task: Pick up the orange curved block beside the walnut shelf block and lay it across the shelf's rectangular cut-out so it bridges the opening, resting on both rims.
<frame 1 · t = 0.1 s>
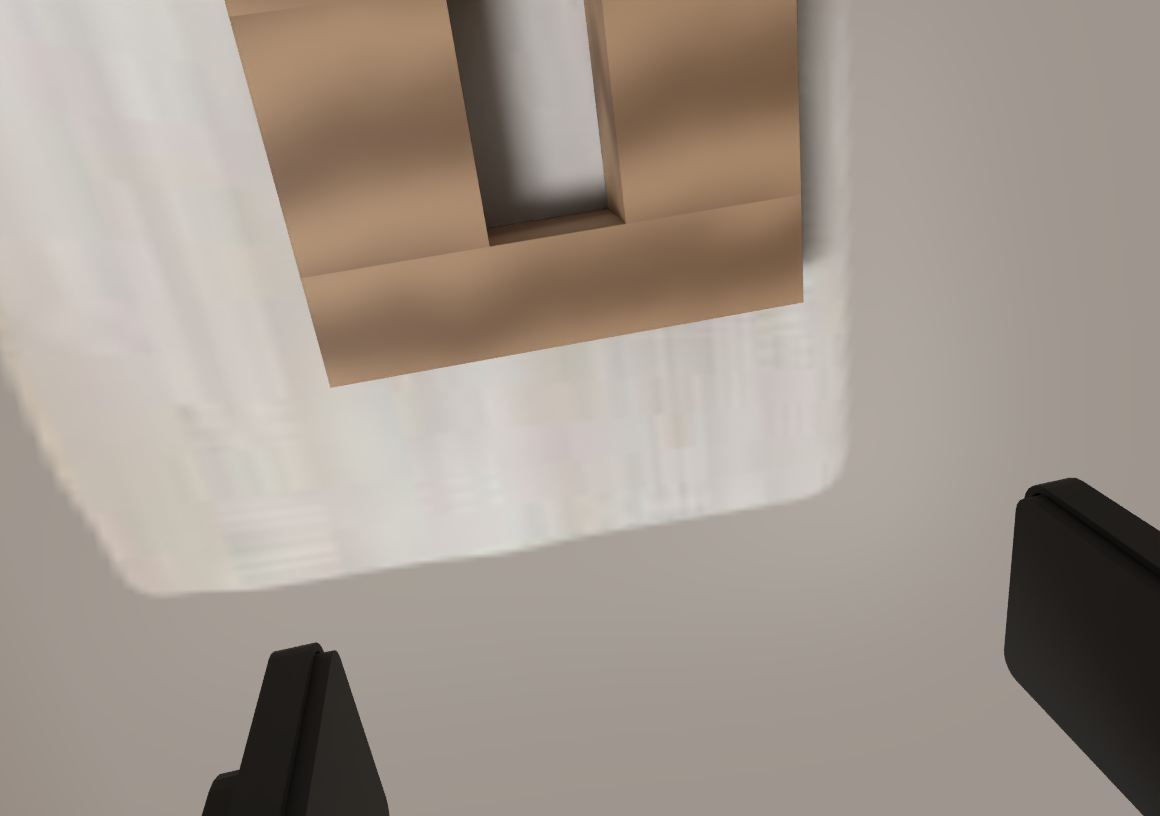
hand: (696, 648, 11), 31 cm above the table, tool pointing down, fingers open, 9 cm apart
cutout shelf: (530, 108, 38), on the table
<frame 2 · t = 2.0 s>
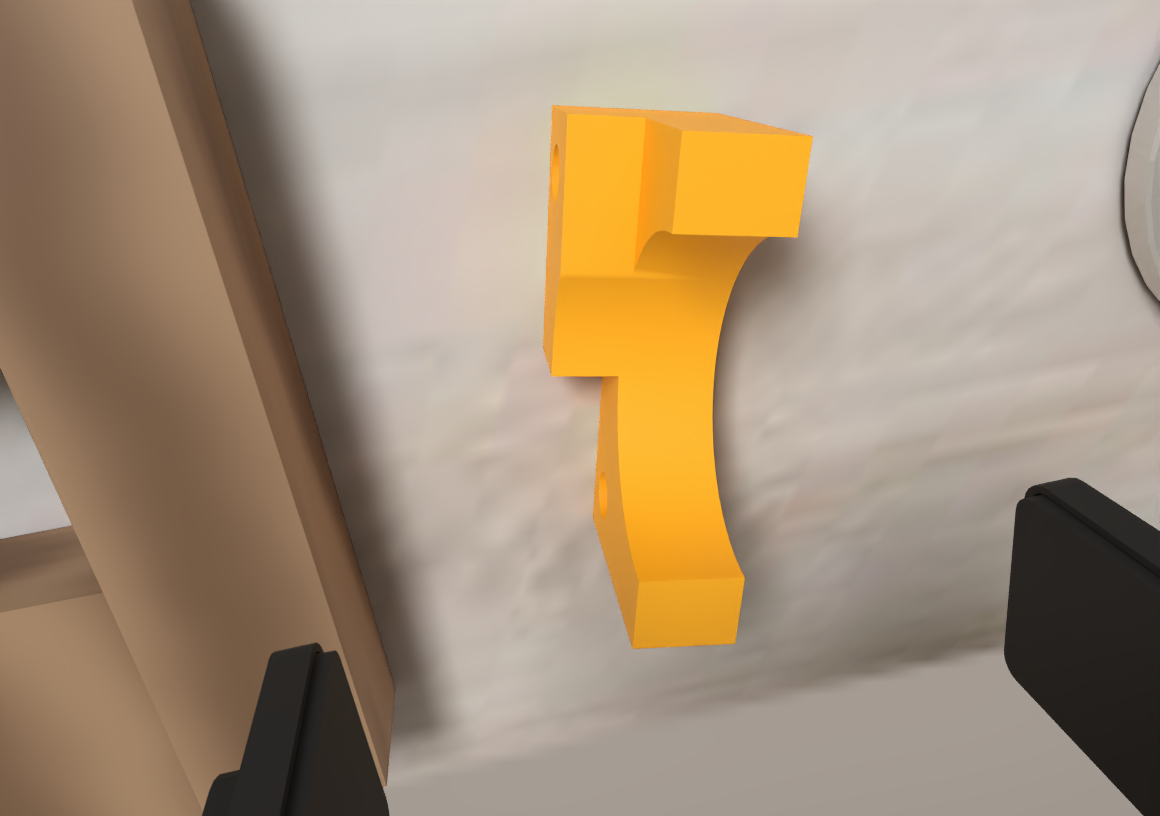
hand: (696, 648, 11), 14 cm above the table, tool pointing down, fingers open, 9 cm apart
orange curved block: (617, 328, 24), on the table
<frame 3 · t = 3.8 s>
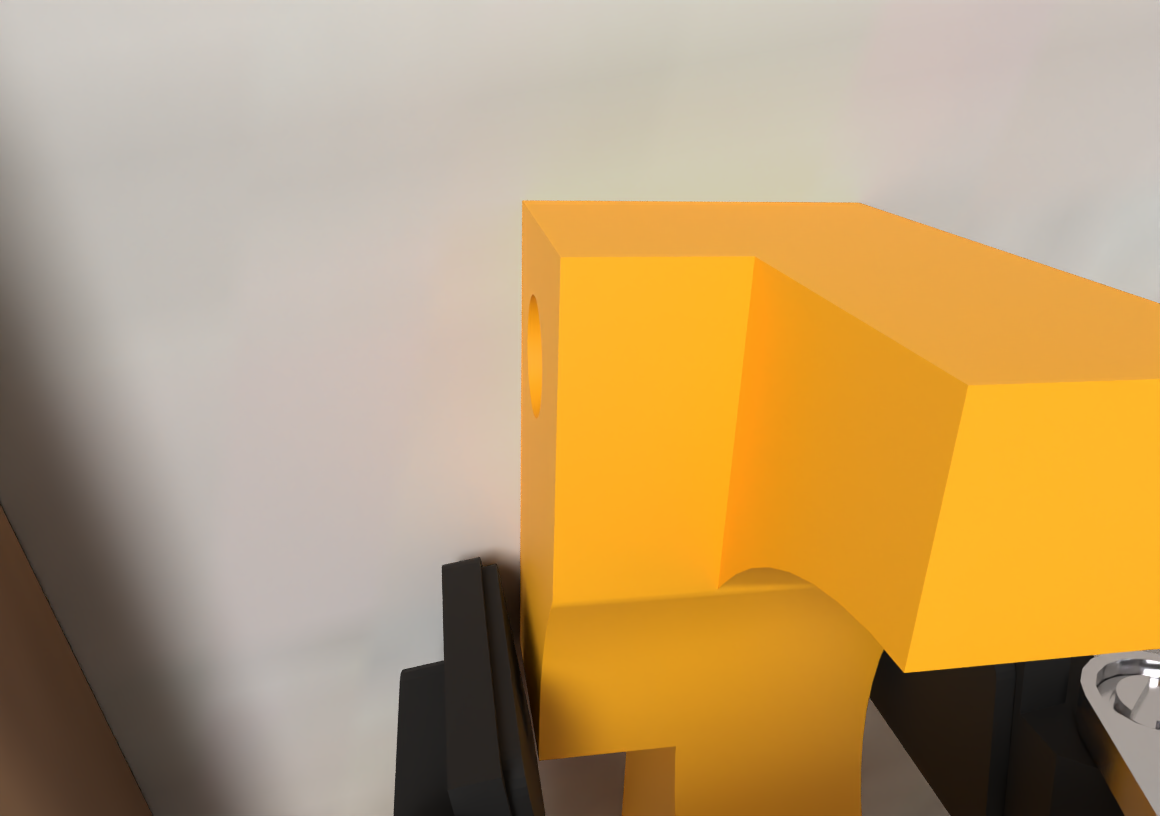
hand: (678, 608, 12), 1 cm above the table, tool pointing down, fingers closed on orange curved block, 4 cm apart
orange curved block: (657, 593, 13), on the table, touching gripper
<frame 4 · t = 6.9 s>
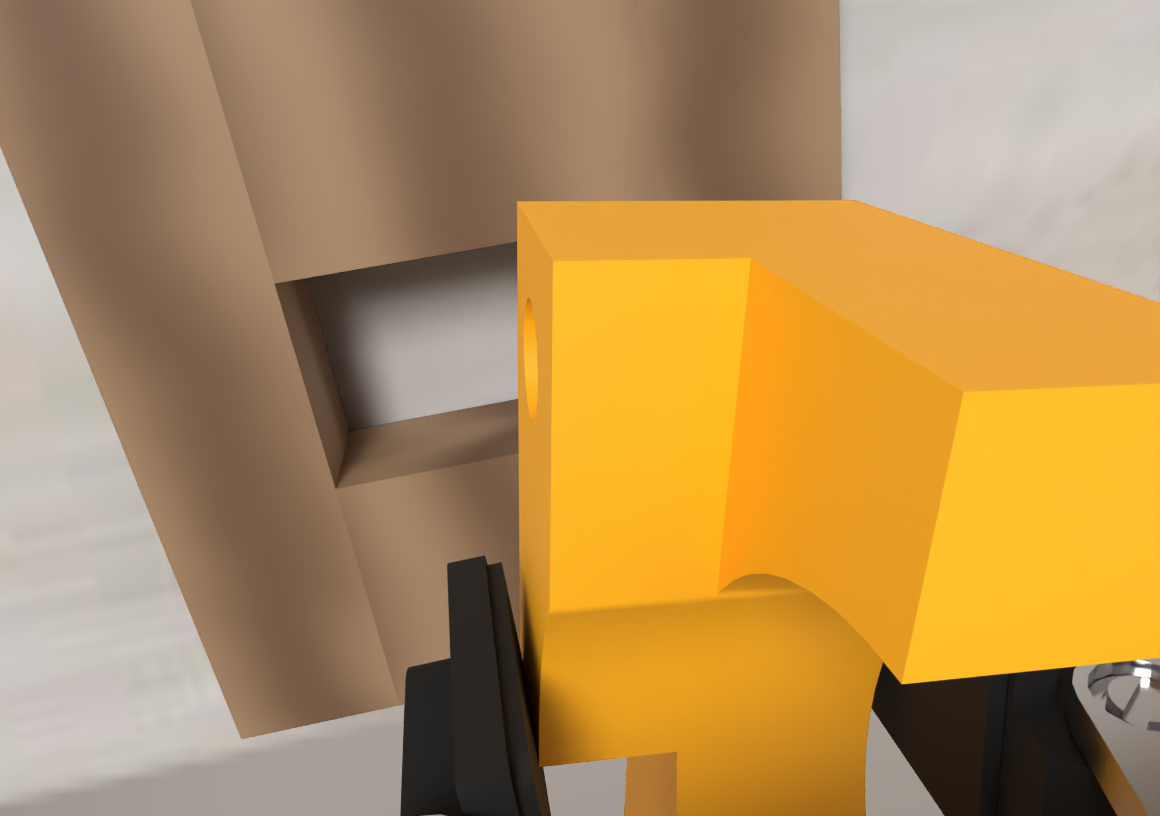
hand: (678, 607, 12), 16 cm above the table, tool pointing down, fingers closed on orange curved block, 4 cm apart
orange curved block: (659, 596, 13), point 15 cm above the table, touching gripper
cutout shelf: (484, 315, 26), on the table
when the fingers open (6 cm above the table, at t = 9.6 s): orange curved block drops 1 cm, resting on cutout shelf.
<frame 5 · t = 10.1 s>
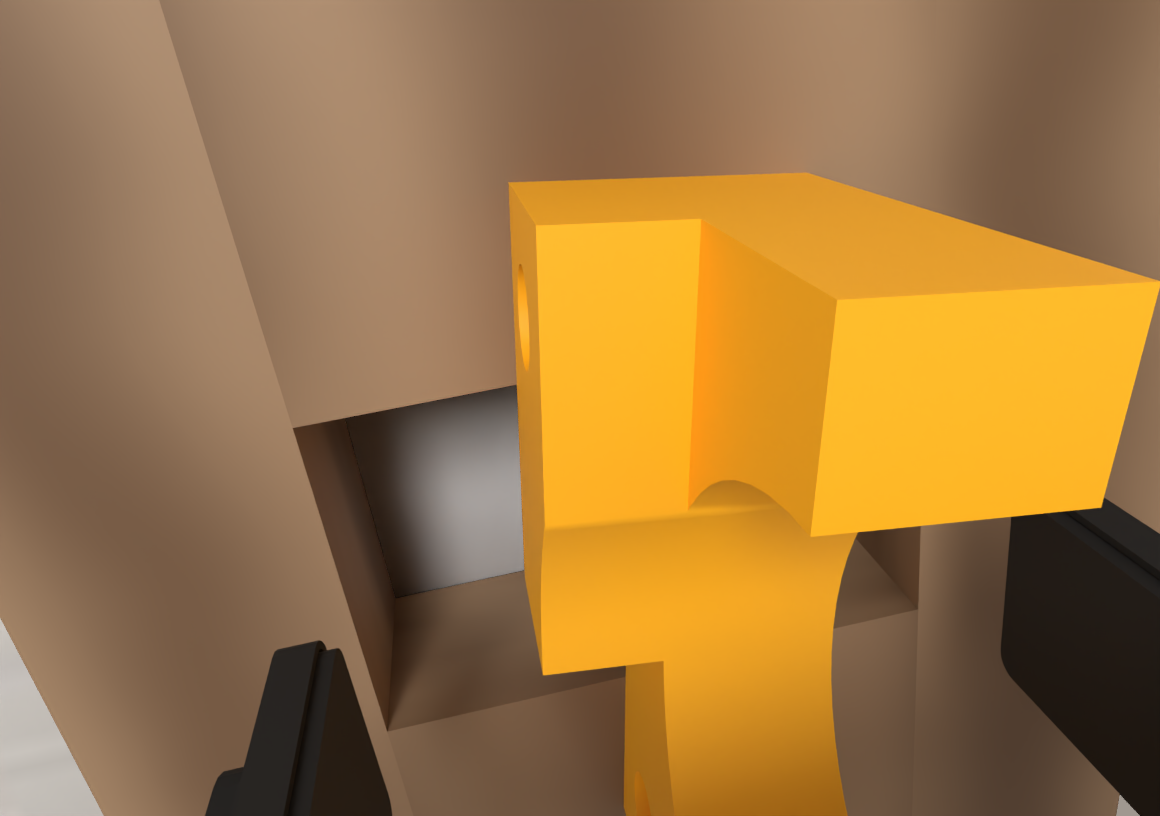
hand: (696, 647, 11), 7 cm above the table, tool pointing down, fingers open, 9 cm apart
orange curved block: (648, 535, 14), point 4 cm above the table, touching cutout shelf
cutout shelf: (599, 432, 18), on the table
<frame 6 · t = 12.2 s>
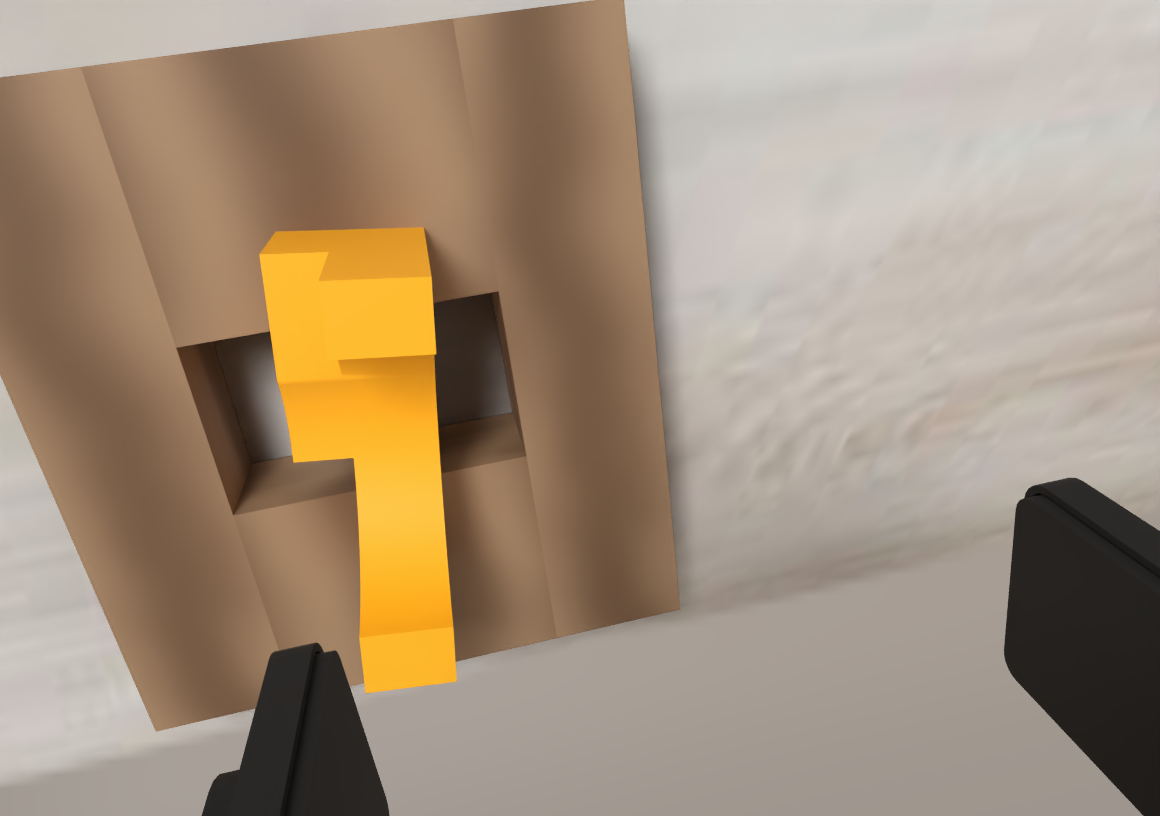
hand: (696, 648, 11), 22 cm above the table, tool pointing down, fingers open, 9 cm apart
orange curved block: (368, 410, 28), point 4 cm above the table, touching cutout shelf
cutout shelf: (367, 365, 31), on the table
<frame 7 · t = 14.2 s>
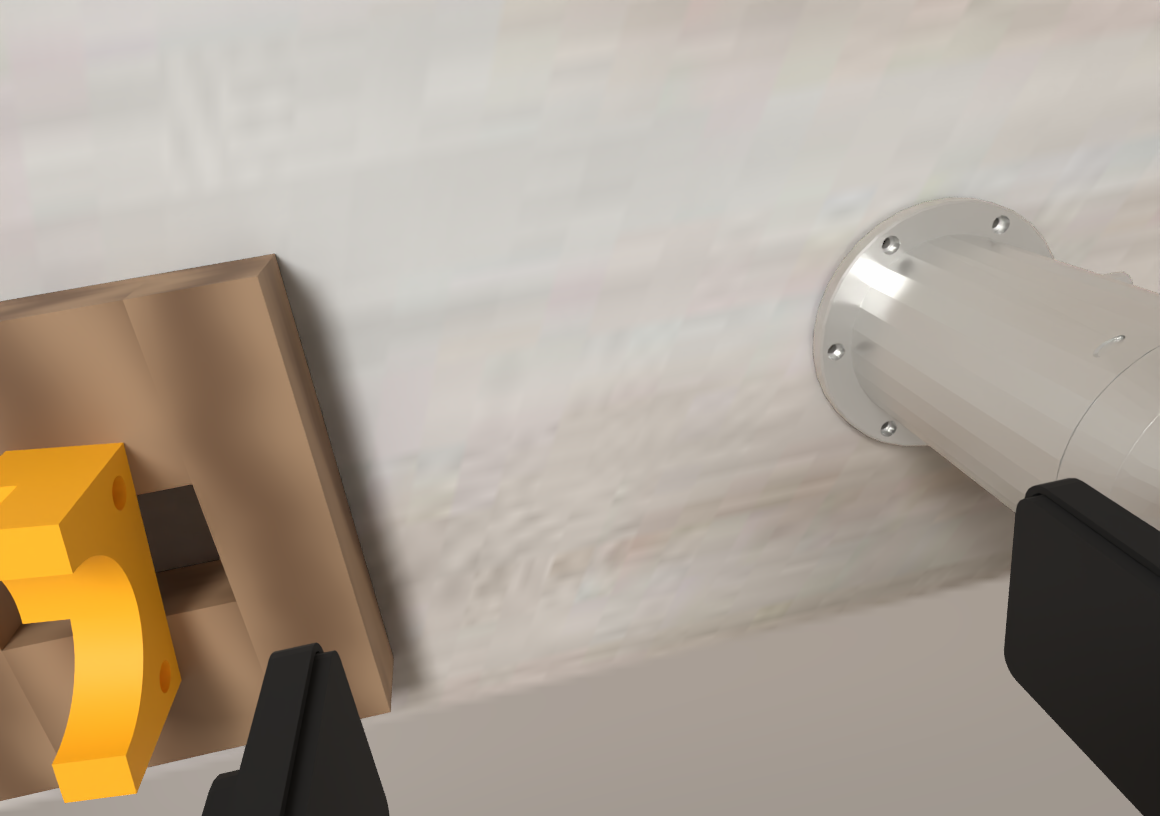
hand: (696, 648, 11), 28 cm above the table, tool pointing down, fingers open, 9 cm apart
orange curved block: (101, 571, 36), point 4 cm above the table, touching cutout shelf
cutout shelf: (126, 521, 39), on the table
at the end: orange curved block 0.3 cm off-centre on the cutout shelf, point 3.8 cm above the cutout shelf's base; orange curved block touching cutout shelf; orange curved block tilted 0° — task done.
